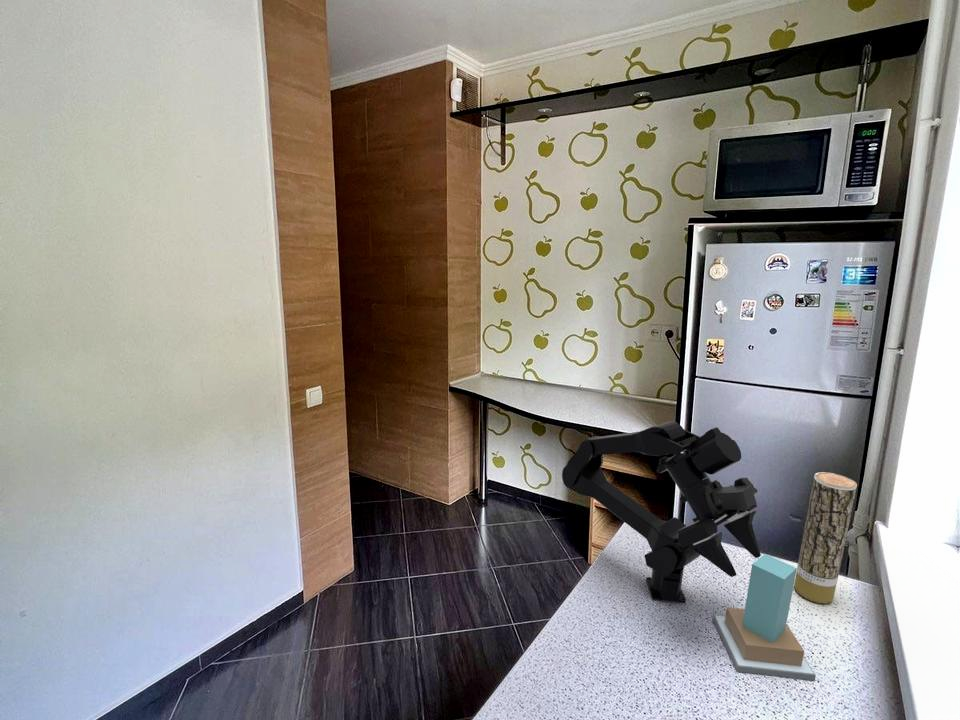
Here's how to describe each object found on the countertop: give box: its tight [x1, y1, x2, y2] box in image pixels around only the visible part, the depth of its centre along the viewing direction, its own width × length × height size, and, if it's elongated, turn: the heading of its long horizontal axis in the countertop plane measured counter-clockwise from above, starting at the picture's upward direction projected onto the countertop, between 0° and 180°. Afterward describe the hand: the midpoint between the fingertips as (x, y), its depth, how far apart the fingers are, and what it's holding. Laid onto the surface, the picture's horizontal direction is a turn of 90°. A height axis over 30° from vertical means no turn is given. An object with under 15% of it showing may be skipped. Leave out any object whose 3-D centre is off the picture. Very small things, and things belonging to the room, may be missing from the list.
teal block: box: [742, 553, 797, 643], centre depth 86 cm, size 5×5×12 cm
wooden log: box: [793, 471, 858, 604], centre depth 100 cm, size 7×7×25 cm
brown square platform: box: [712, 607, 817, 682], centre depth 88 cm, size 12×12×4 cm
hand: (746, 566), depth 88 cm, fingers open, 9 cm apart
